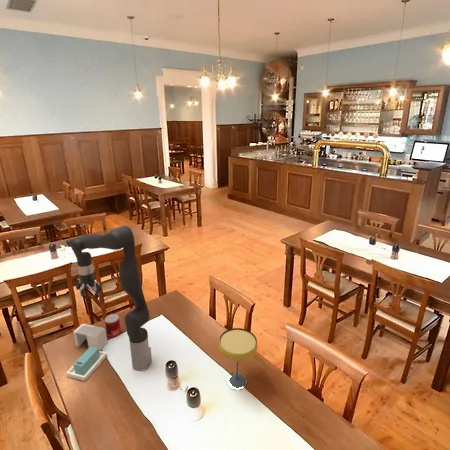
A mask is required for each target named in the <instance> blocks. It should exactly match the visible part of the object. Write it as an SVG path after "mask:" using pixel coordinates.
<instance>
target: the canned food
mask: <svg viewBox="0 0 450 450" xmlns="http://www.w3.org/2000/svg"><path fill="white" fill-rule="evenodd" d="M104 323H105V331H106V336H107V337H109V338H116V337H119V335H120V334H121V331H122V330H121V323H120V316H119V315H118V314H117V313H111V314H110V315H109V314H108V315H107V316H106V317H105V318H104Z"/></svg>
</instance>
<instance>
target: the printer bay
mask: <svg viewBox="0 0 450 450" xmlns="http://www.w3.org/2000/svg"><path fill="white" fill-rule="evenodd" d="M72 332H73V337H74V343H75V347H77V348H79V347H80V346H81V345H83V343H84V342H85V341H87V347H88V348H89V347H90V346H91V347H95V348H99V351H102V349H103V348H104V347H105V346H106V345H107V344H108V340H107V337H108V336H107V331H106V327H105V328H104V327H102V326H95V325H91V324H85V323H82V324H80V325H79V326H78V327H77V328H76V329H75V330H73V331H72Z"/></svg>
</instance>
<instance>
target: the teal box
mask: <svg viewBox="0 0 450 450" xmlns="http://www.w3.org/2000/svg"><path fill="white" fill-rule="evenodd" d="M99 358H100V354H99V348H95V347H91V346H90V347H88V348H87V350H85V351H84V353H82V354H81V356H80V357H79V358H77V360H76V361H75V362H74V363H73V365H74V370H75V374H79V375H83V376H84V375H85V374H86V373H87V371H88V370H89V369H90V368H91V367H92V366H93V365H94V364H95V362H96V361H97V360H98V359H99ZM73 365H72V366H73Z"/></svg>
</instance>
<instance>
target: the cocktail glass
mask: <svg viewBox="0 0 450 450" xmlns="http://www.w3.org/2000/svg"><path fill="white" fill-rule="evenodd" d="M218 348H219V350H220V353H221V354H222V355H223V356H224V357H225V358H227V359H229V360H231V361H236V374H234V375H232V377H231V378H230V380H229V381H230V383H231V384H232V386H234V387H236V388H239V387H242V386H245V385H246V380H247V379H248V378H247V379H246V378H245V377H244V376H243V375H242V374H243V373H242V374H238V372H239V361H240V362H241V361H247V360H249V359H250V358H252V357H253V356H254V355H255V354H256V352H257V350H258V339H257V337H256V336H255V334H254V333H253V332H252V331H250V330H247V329H246V328H242V327H236V328H235V327H233V328H229V329H227V330H225V331H223V332H222V333H221V335H220V336H219V339H218Z"/></svg>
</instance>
